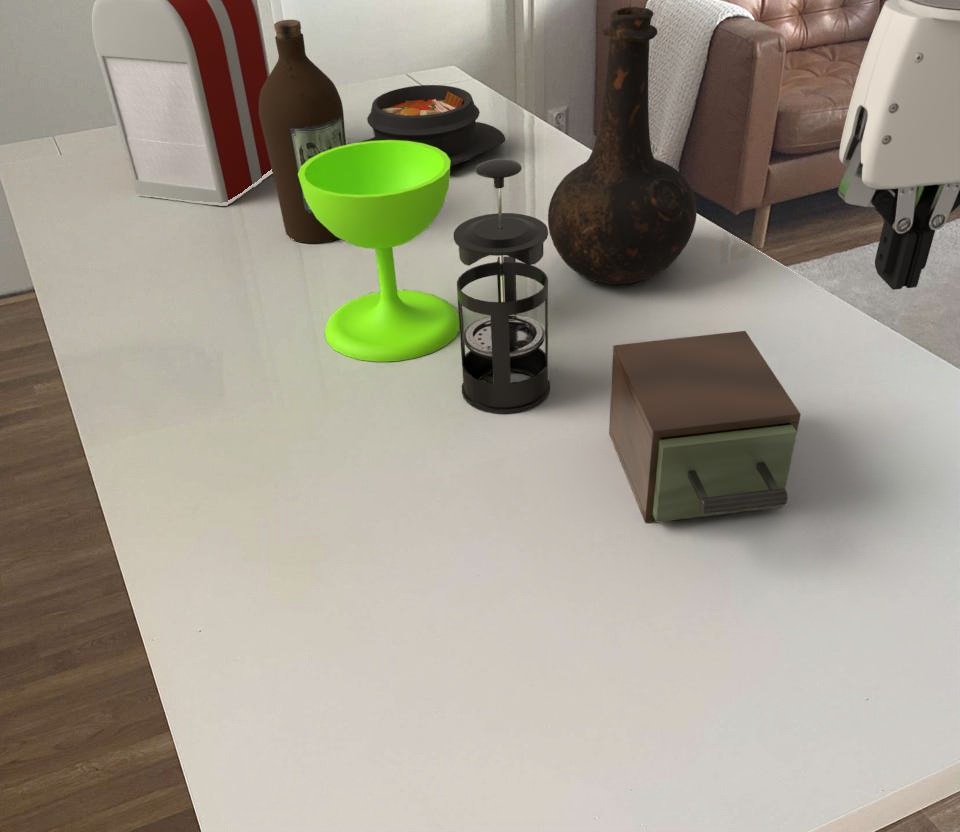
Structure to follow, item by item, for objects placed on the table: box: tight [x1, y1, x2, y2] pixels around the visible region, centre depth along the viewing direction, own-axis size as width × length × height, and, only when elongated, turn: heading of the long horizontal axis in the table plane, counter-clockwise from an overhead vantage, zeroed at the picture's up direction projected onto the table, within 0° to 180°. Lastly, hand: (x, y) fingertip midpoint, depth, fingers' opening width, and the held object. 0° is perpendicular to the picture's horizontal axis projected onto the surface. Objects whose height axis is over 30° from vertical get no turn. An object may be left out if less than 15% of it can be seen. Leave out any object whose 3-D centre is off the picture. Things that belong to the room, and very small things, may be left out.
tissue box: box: [91, 0, 272, 203], centre depth 144 cm, size 16×18×27 cm
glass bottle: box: [547, 6, 698, 285], centre depth 116 cm, size 18×18×28 cm
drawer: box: [653, 425, 798, 523], centre depth 89 cm, size 19×11×8 cm, turn 8°
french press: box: [453, 158, 551, 414], centre depth 99 cm, size 12×9×23 cm
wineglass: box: [298, 140, 460, 363], centre depth 111 cm, size 16×16×18 cm
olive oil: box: [259, 19, 347, 244], centre depth 130 cm, size 11×11×25 cm
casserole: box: [357, 84, 506, 167], centre depth 153 cm, size 25×19×8 cm
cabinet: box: [608, 330, 802, 524], centre depth 92 cm, size 15×13×10 cm
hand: (895, 279), depth 71 cm, fingers closed
